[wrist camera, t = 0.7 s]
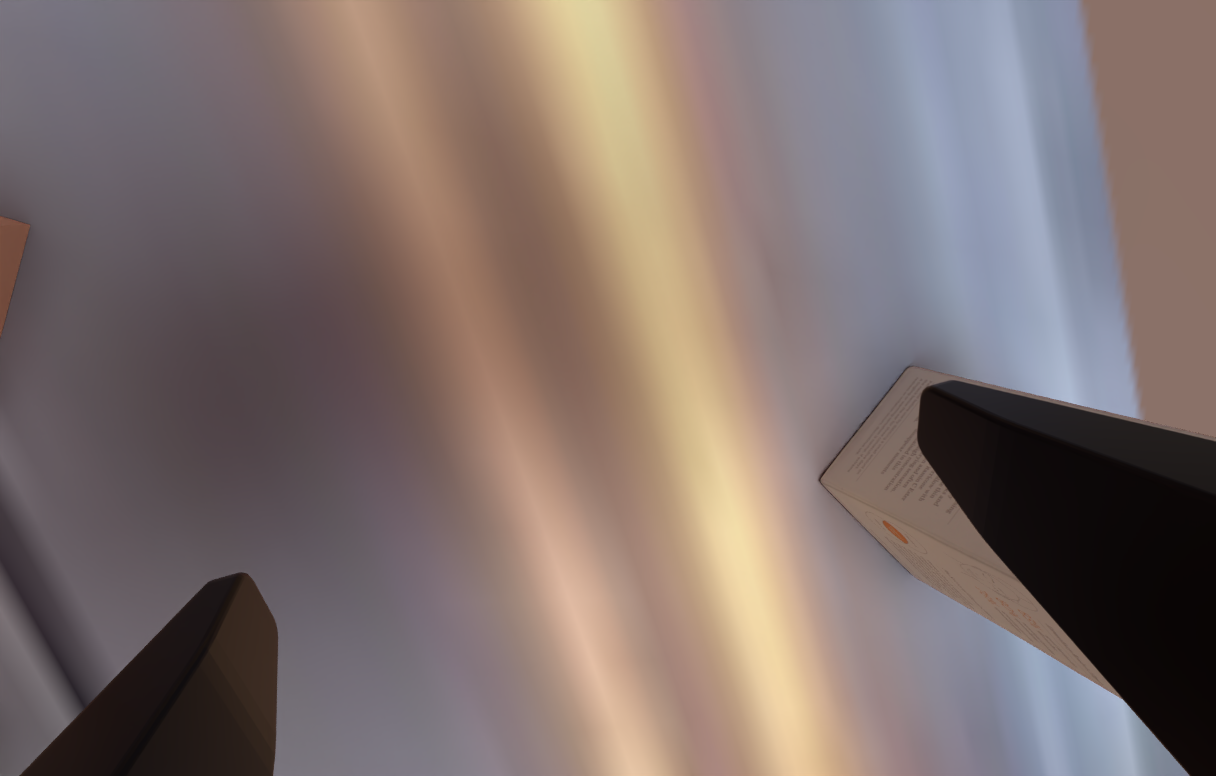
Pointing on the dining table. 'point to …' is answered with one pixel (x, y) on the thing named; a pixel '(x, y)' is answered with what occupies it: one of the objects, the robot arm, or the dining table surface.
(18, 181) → the dining table surface
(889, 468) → the small box
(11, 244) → the domino
